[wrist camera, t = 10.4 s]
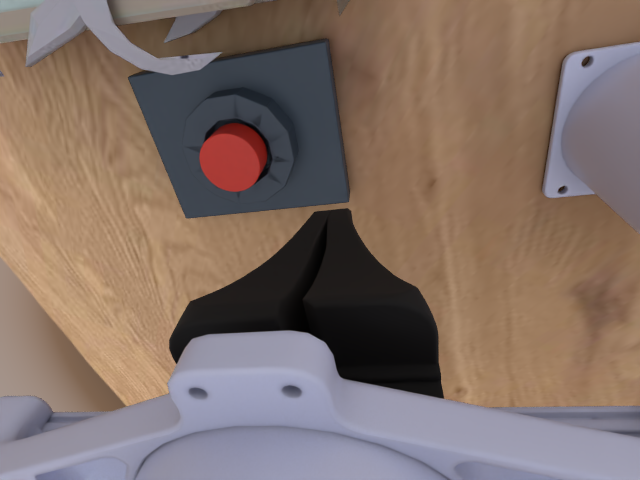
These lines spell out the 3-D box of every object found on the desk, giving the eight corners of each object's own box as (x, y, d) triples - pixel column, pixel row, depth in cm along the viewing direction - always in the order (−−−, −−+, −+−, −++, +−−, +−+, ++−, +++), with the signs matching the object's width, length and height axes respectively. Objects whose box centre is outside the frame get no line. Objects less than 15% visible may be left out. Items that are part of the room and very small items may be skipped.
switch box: (328, 37, 20) (323, 45, 17) (350, 192, 25) (348, 215, 22) (139, 71, 22) (110, 83, 19) (193, 208, 27) (175, 231, 24)
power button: (259, 118, 20) (250, 129, 18) (273, 175, 22) (266, 188, 20) (202, 127, 21) (190, 137, 19) (220, 181, 22) (210, 194, 21)
